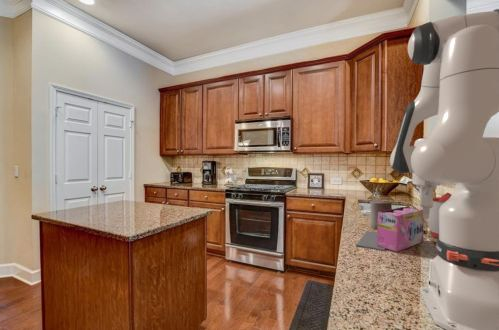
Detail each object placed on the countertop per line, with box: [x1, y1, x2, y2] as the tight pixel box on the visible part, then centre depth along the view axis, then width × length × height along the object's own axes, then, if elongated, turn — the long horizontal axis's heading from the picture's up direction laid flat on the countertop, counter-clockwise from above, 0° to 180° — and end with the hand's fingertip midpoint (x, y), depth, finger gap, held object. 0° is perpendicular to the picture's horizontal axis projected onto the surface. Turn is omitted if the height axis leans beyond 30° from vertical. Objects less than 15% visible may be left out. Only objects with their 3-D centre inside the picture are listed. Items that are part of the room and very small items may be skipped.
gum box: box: [376, 206, 425, 252], centre depth 98 cm, size 24×8×14 cm, turn 123°
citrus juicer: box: [426, 192, 452, 239], centre depth 107 cm, size 16×17×20 cm
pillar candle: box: [369, 199, 393, 230], centre depth 123 cm, size 10×10×15 cm
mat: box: [355, 230, 386, 252], centre depth 104 cm, size 24×10×1 cm, turn 144°
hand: (425, 215), depth 94 cm, fingers open, 8 cm apart
